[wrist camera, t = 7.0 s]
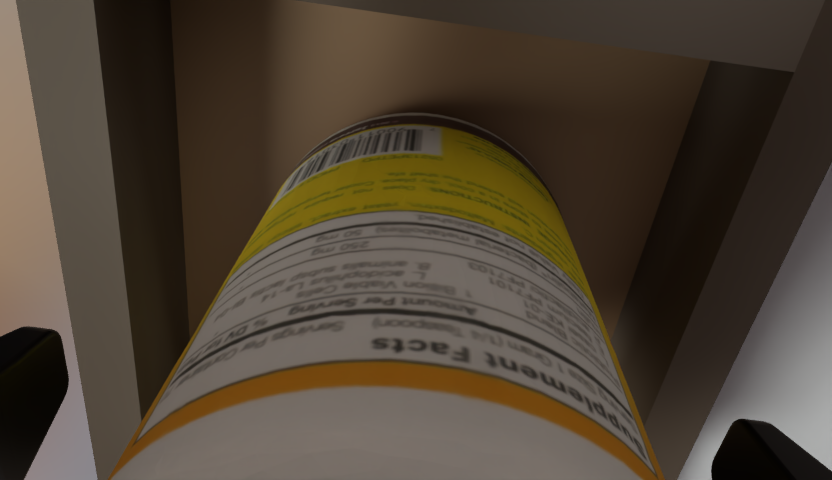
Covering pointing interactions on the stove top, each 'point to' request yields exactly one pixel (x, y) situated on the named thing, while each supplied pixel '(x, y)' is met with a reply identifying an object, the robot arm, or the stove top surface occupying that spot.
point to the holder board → (443, 95)
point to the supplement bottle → (400, 330)
